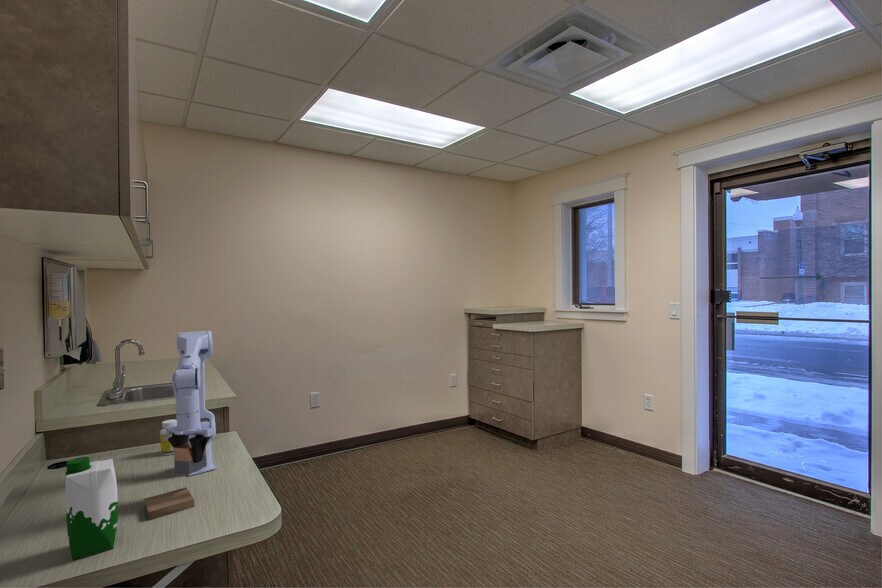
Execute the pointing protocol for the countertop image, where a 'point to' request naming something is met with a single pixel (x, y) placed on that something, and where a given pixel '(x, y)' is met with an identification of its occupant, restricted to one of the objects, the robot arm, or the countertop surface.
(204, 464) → the block
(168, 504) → the walnut stand
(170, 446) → the supplement bottle
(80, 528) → the milk carton
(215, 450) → the countertop surface
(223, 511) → the countertop surface
